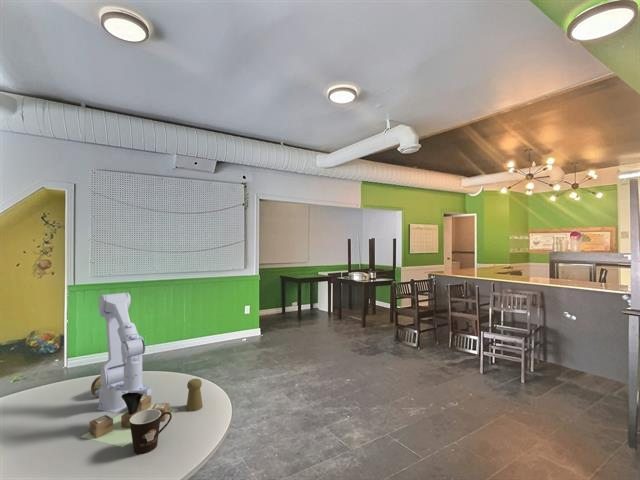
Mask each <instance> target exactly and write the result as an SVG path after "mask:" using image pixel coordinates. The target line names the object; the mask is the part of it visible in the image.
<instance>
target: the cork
mask: <svg viewBox="0 0 640 480" xmlns="http://www.w3.org/2000/svg"><path fill="white" fill-rule="evenodd" d="M202 384H203V383H202V380H201V379H200V378H192V379H190V380H189V381H187V386H186V387H187V389H188V394H187V401H186V408H185V409H186V411H187V412H192V413H193V412H198V411H199V410H201V409H203V405H204V404H203V400H202V392H201V387H202Z"/></svg>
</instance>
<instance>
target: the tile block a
mask: <svg viewBox="0 0 640 480" xmlns="http://www.w3.org/2000/svg"><path fill="white" fill-rule="evenodd" d="M88 423H89V430H88V431H89V432H88V433H89V434H91V435H92V436H94V437H95V438H99V437H101V436H103V435H105V434H107V433H110V432H112V431H113V418H112V417H110V416H109V415H107V414H104V415H103V416H99V417H97V418H95V419H93V420H89V422H88Z"/></svg>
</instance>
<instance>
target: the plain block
mask: <svg viewBox="0 0 640 480" xmlns="http://www.w3.org/2000/svg"><path fill="white" fill-rule="evenodd" d="M126 411H127V410H126ZM141 411H144V409H137V412H135V413H134V414H136V413H138V412H141ZM134 414H129V412H128V411H127V412H126V413H125V414H123V415H122V416H121V428H131V427H130V418H131V417H132V416H133V415H134Z"/></svg>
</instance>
